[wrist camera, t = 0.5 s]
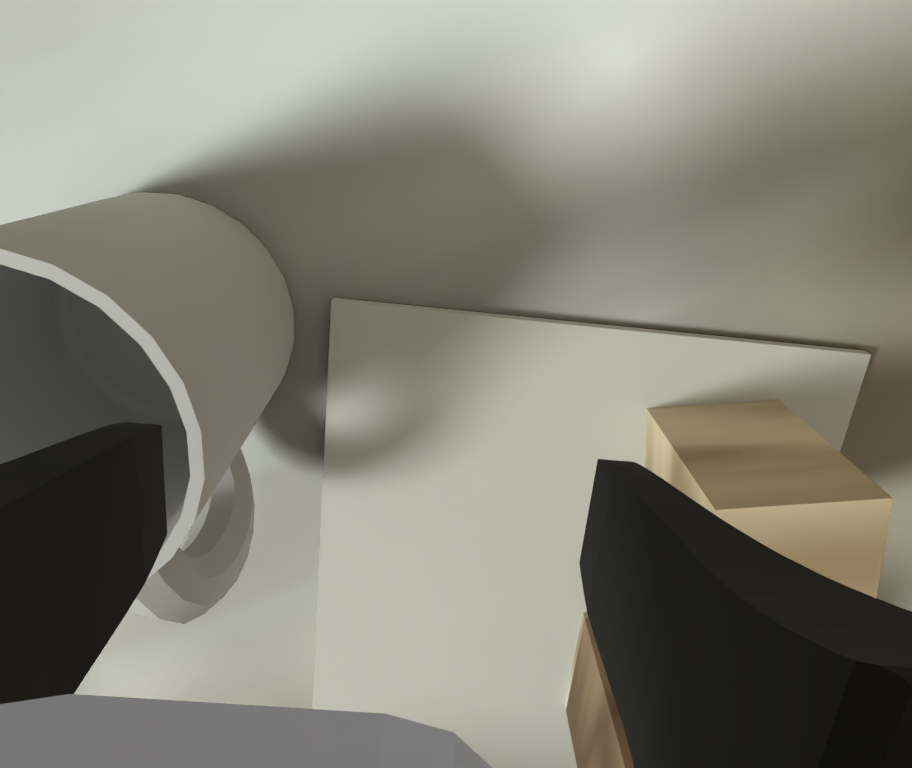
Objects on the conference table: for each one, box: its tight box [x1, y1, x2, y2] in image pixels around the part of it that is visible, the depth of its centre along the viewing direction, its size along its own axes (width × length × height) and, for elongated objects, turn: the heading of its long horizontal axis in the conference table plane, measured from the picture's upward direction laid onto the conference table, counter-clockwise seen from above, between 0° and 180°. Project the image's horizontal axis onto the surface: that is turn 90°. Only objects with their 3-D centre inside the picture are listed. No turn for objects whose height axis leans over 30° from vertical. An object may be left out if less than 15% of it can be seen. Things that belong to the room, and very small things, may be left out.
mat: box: [312, 298, 871, 768], centre depth 24 cm, size 18×16×1 cm
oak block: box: [645, 400, 893, 598], centre depth 20 cm, size 4×4×6 cm
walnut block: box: [565, 613, 634, 768], centre depth 22 cm, size 4×4×8 cm
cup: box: [0, 192, 295, 624], centre depth 18 cm, size 7×10×9 cm
